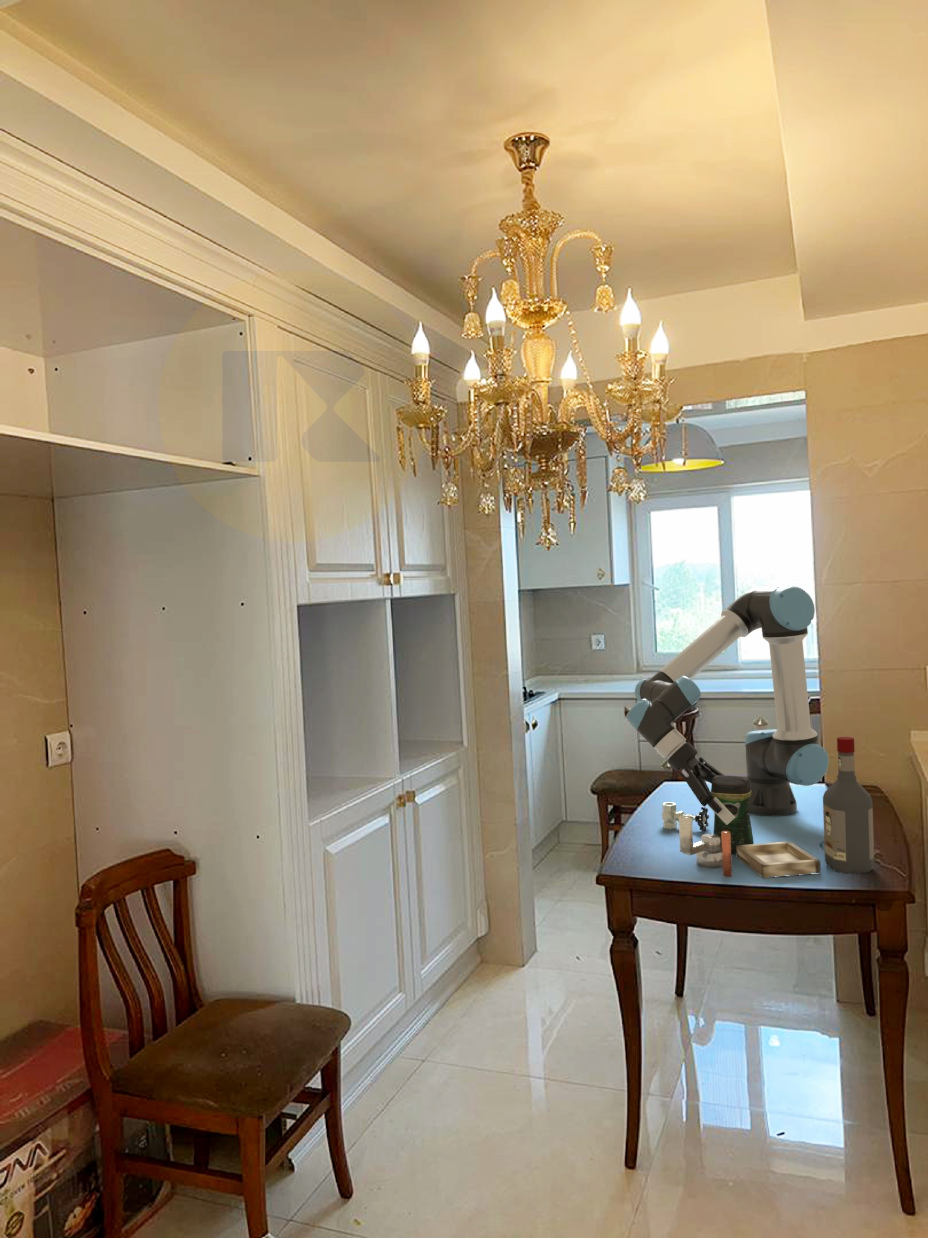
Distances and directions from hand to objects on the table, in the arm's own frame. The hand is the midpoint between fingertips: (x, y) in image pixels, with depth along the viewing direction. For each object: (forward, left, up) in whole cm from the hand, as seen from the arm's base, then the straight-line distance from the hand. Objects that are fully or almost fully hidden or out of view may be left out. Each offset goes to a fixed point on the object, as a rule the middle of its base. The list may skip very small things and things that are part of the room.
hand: (738, 814), depth 224 cm
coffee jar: (+1, -1, -9) cm, 9 cm away
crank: (+14, +10, -6) cm, 18 cm away
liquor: (-19, +18, -9) cm, 28 cm away
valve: (+7, -22, -9) cm, 25 cm away
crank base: (+10, +11, -9) cm, 18 cm away
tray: (-4, +13, -9) cm, 16 cm away
